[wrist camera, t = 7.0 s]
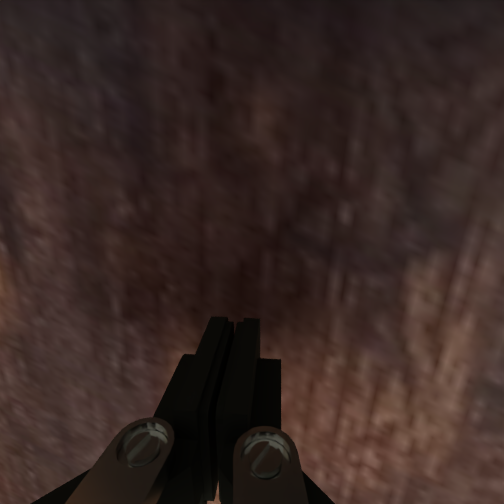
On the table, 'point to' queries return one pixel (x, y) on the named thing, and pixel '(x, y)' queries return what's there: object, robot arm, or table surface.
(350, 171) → the table surface
